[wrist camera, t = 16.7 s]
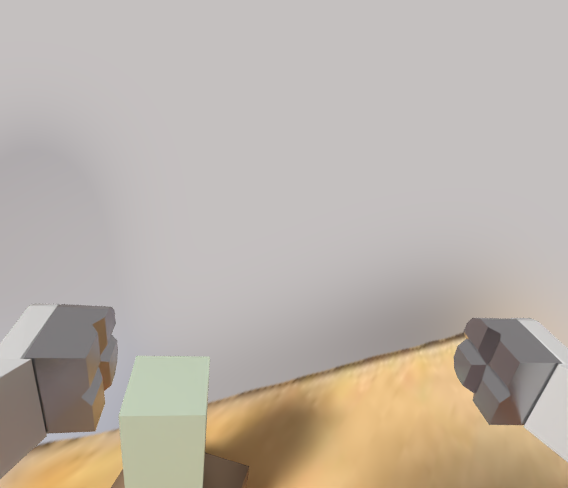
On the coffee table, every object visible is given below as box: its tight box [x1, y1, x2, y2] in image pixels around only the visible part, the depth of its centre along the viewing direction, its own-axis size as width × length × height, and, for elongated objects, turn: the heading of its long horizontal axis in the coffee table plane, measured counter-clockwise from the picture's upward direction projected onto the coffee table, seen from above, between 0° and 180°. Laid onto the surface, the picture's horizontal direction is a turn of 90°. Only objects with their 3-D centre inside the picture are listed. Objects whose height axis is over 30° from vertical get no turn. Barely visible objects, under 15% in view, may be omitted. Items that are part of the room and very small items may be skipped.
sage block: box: [119, 356, 210, 488], centre depth 29 cm, size 5×5×13 cm
